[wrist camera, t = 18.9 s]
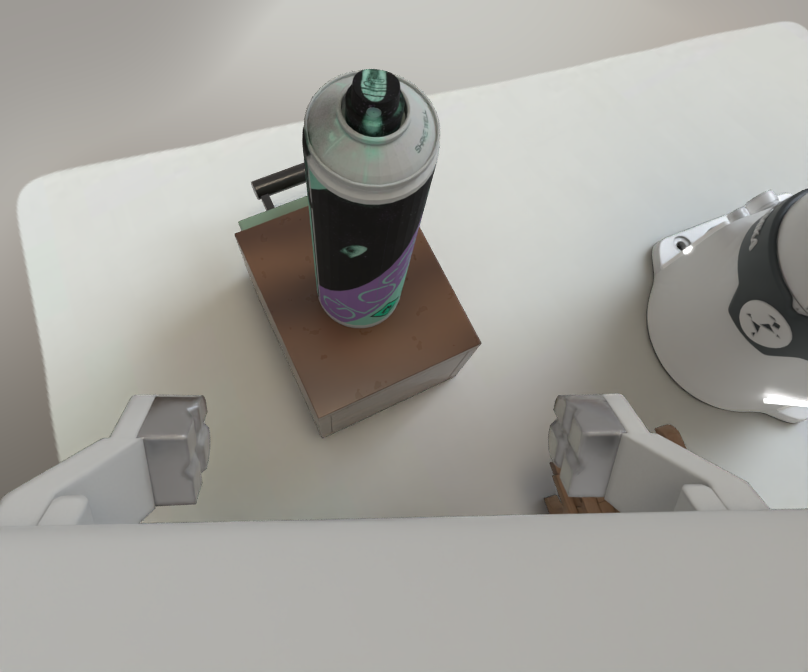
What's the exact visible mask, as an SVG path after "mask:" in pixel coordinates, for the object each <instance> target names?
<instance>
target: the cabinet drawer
mask: <svg viewBox="0 0 808 672" xmlns="http://www.w3.org/2000/svg"><path fill="white" fill-rule="evenodd" d="M303 183H306V174H305V164H304V163H301V164H299V165H296V166H293V167H290V168H288V169H285V170H282V171H279V172H277V173H274V174H271V175H268V176H266V177H263V178H260V179H258V180H255V181H252V182H251V185H252V188H253V190H254V193H255V195H256V197H257V199H258V200H260V199H261V200H262V202H263V204H264V206H265V209H266V211H265V212H263V213H260V214H257V215H255V216H252V217H249V218H247V219H244V220H241V221H239V222H238V223H239V226H240V229H241V231H243V230H246V229H248V228H251V227H254V226H256V225H259V224H261V223H264V222H267V221H269V220H272V219H275V218H277V217H280V216H282V215H285V214H288V213H290V212H293V211H296V210H298V209H301V208H304V207H306V206H309V204H308V196H305V197H302V198H300V199H297V200H294V201H292V202H289V203H286V204H284V205H281V206H278V207H276V208H275V207H274V205H273V203H272V201H271V199H270V197H269V196H271V195H273V194H276V193H279V192H281V191H284V190H287V189H289V188H292V187H295V186H298V185H300V184H303Z"/></svg>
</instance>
